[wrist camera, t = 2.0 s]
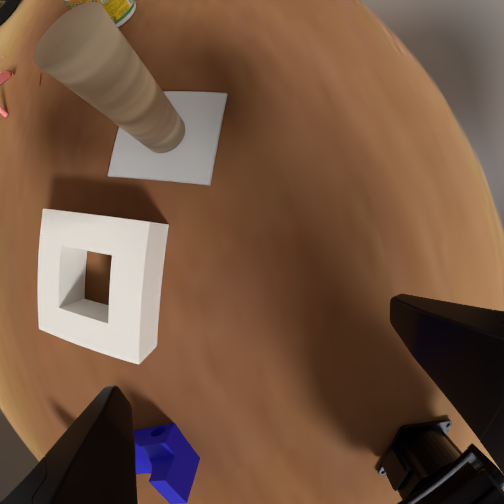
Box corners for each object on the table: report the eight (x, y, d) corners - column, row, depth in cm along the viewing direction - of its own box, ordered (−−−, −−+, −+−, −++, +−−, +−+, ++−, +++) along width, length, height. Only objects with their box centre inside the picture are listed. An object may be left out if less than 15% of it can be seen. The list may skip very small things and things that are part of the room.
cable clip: (175, 421, 20) (153, 467, 14) (200, 456, 20) (186, 502, 14) (83, 435, 21) (55, 467, 15) (107, 466, 21) (85, 499, 15)
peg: (189, 113, 18) (115, -6, 6) (180, 154, 19) (81, 57, 6) (149, 112, 19) (55, 13, 6) (139, 152, 19) (22, 74, 6)
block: (168, 224, 19) (149, 221, 16) (156, 346, 20) (138, 364, 16) (70, 211, 20) (43, 208, 16) (64, 318, 20) (39, 328, 17)
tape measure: (27, -2, 19) (16, -11, 15) (2, 30, 19) (-10, 21, 15) (12, 3, 19) (2, -6, 15) (-11, 32, 19) (-22, 24, 16)
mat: (227, 95, 19) (226, 93, 18) (210, 185, 19) (209, 184, 19) (131, 94, 19) (129, 92, 19) (110, 176, 19) (107, 175, 19)
